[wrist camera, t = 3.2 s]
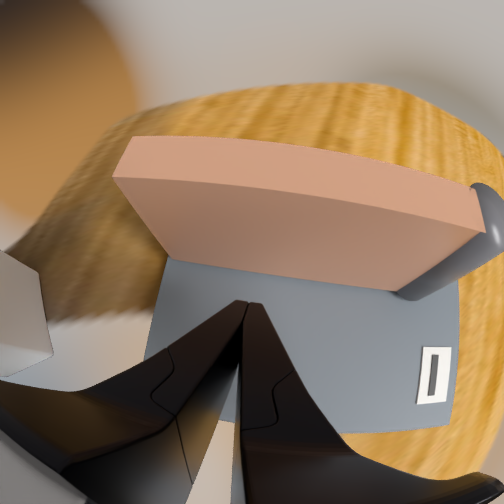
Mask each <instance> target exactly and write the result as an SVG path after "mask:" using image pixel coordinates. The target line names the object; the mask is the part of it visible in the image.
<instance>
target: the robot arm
mask: <svg viewBox="0 0 504 504" xmlns="http://www.w3.org/2000/svg"><path fill="white" fill-rule="evenodd" d="M238 365H239V366H238ZM237 369H238V377H237V394H236V411H235V429H234V430H235V431H234V447H233V448H234V449H233V466H232V486H231V504H488V503H489V502H491V501H493V500H494V499H496V498H497V497H499V496H500V495H501V494H502V493H504V485H503V483H502V482H500V481H499V480H498V479H496V478H494V477H492V476H489V475H486V474H483V473H480V472H473V473H470V474H467V475H464V476H461V477H458V478H455V479H450V480H432V479H426V478H422V477H419V476H415V475H412V474H409V473H406V472H403V471H400V470H397V469H394V468H392V467H389V466H386V465H383V464H381V463H378V462H376V461H373V460H371V459H368V458H366V457H363V456H361V455H359V454H358V453H356V452H355V451H354V450H352V449H351V448H350V447H349V446H348V445H347V444H346V443H345V442H344V440H343V439H342V438H341V437H340V435H339V434H338V433H337V431H336V430H335V429H334V427H333V426H332V425H331V423H330V422H329V421H328V419H327V418H326V417H325V415H324V414H323V413H322V411H321V410H320V409H319V407H318V406H317V404H316V403H315V401H314V400H313V398H312V397H311V396H310V394H309V392H308V391H307V389H306V387H305V386H304V384H303V382H302V380H301V378H300V376H299V374H298V372H297V371H296V369H295V367H294V365H293V363H292V361H291V359H290V357H289V355H288V353H287V351H286V349H285V347H284V345H283V343H282V341H281V339H280V337H279V335H278V333H277V331H276V329H275V327H274V326H273V324H272V322H271V320H270V318H269V316H268V314H267V312H266V310H265V308H264V306H263V304H262V303H256V302H250V303H248V301H243V300H234V301H233V302H231V303H230V304H229V305H227V306H226V307H224V308H223V309H221V310H220V311H218V312H217V313H216V314H214V315H213V316H211V317H210V318H208V319H207V320H205V321H204V322H202V323H201V324H200V325H198V326H197V327H195V328H194V329H192V330H191V331H189V332H188V333H186V334H185V335H183V336H182V337H180V338H179V339H177V340H176V341H174V342H173V343H171V344H170V345H168V346H167V348H164V349H162V350H161V351H159V352H158V353H156V354H154V355H153V356H151V357H149V358H148V359H146V360H145V361H143V362H141V363H139V364H137V365H135V366H133V367H132V368H130V369H128V370H126V371H124V372H122V373H120V374H117V375H115V376H113V377H111V378H109V379H107V380H105V381H103V382H101V383H98V384H96V385H94V386H92V387H89V388H87V389H84V390H80V391H74V392H65V391H57V390H49V389H42V388H36V387H31V386H25V385H20V384H15V383H10V382H6V381H1V380H0V504H185V503H186V501H187V498H188V496H189V494H190V491H191V489H192V485H193V484H194V481H195V479H196V476H197V474H198V471H199V469H200V466H201V464H202V461H203V459H204V456H205V454H206V451H207V449H208V446H209V444H210V441H211V438H212V436H213V433H214V430H215V428H216V425H217V423H218V420H219V418H220V415H221V412H222V410H223V407H224V404H225V402H226V399H227V396H228V394H229V391H230V388H231V386H232V383H233V380H234V377H235V375H236V372H237Z"/></svg>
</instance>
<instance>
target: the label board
mask: <svg viewBox="0 0 504 504" xmlns="http://www.w3.org/2000/svg"><path fill="white" fill-rule="evenodd" d="M234 300H243V301H248V303H250V302H256V303H262V304H263V306H264V308H265V310H266V312H267V314H268V316H269V318H270V320H271V322H272V324H273V326H274V327H275V329H276V331H277V333H278V335H279V337H280V339H281V341H282V343H283V345H284V347H285V349H286V351H287V353H288V355H289V357H290V359H291V361H292V363H293V365H294V367H295V369H296V371H297V372H298V374H299V376H300V378H301V380H302V382H303V384H304V386H305V387H306V389H307V391H308V392H309V394H310V396H311V397H312V398H313V400H314V401H315V403H316V404H317V406H318V407H319V409H320V410H321V411H322V413H323V414H324V415H325V417H326V418H327V419H328V421H329V422H330V423H331V425H332V426H333V427H334V429H335V430H336V431H337V433H381V432H395V431H407V430H416V429H424V428H431V427H438V426H444V425H449V423H450V417H451V412H452V406H453V400H454V393H455V385H456V376H457V365H458V351H459V290H458V280H456V281H454V282H453V283H451V284H449V285H447V286H445V287H443V288H442V289H440V290H438V291H436V292H434V293H432V294H430V295H428V296H426V297H424V298H422V299H420V300H418V301H408V300H405V299H404V298H402V297H401V296H400V295H399V294H398V293H397V292H396V291H389V290H380V289H372V288H365V287H357V286H349V285H341V284H334V283H327V282H319V281H312V280H305V279H298V278H291V277H284V276H277V275H270V274H263V273H256V272H249V271H243V270H236V269H230V268H223V267H217V266H211V265H204V264H198V263H192V262H186V261H179V260H173V259H171V257H170V256H168V259H167V263H166V266H165V270H164V274H163V278H162V281H161V285H160V289H159V293H158V297H157V301H156V305H155V310H154V314H153V318H152V322H151V327H150V331H149V336H148V341H147V346H146V350H145V356H144V361H145V360H146V359H148V358H149V357H151V356H153V355H154V354H156V353H158V352H159V351H161V350H162V349H164V348H167V346H168V345H170V344H171V343H173V342H174V341H176V340H177V339H179V338H180V337H182V336H183V335H185V334H186V333H188V332H189V331H191V330H192V329H194V328H195V327H197V326H198V325H200V324H201V323H202V322H204V321H205V320H207V319H208V318H210V317H211V316H213V315H214V314H216V313H217V312H218V311H220V310H221V309H223V308H224V307H226V306H227V305H229V304H230V303H231V302H233V301H234ZM238 366H239V365H238ZM237 377H238V369H237V372H236V375H235V377H234V380H233V383H232V386H231V388H230V391H229V394H228V396H227V399H226V402H225V404H224V407H223V410H222V412H221V415H220V418H219V420H222V421H227V422H233V423H235V411H236V394H237Z"/></svg>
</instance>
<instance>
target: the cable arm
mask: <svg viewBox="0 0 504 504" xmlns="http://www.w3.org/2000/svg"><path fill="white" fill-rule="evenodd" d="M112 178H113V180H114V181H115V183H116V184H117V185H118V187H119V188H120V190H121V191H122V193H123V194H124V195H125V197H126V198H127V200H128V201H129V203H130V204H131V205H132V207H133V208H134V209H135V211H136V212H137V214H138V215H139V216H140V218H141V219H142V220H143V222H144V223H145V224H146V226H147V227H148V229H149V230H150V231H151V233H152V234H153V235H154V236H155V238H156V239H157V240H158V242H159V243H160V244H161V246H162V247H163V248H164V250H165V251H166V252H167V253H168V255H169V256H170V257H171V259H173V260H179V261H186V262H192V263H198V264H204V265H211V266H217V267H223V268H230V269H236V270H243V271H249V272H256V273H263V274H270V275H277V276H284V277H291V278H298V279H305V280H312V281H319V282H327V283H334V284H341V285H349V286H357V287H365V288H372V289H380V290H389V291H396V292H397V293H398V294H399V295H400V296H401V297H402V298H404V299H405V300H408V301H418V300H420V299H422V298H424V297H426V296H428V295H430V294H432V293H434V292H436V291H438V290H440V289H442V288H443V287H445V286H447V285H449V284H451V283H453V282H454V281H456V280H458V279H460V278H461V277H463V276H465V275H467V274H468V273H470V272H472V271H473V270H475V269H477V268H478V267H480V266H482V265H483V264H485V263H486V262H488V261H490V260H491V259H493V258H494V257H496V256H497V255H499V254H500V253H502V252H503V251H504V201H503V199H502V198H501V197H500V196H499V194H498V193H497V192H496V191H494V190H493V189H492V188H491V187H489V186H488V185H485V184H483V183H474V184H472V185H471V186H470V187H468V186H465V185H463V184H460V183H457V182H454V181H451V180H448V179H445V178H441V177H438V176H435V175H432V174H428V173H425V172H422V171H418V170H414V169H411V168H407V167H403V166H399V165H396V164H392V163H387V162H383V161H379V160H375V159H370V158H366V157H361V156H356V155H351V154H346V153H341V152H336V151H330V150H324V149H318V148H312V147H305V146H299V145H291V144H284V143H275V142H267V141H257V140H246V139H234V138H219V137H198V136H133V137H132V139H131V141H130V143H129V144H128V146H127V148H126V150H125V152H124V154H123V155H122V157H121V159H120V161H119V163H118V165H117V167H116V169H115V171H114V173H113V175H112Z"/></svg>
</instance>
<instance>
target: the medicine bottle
mask: <svg viewBox="0 0 504 504" xmlns="http://www.w3.org/2000/svg"><path fill="white" fill-rule="evenodd" d="M52 356H53V348H52V345H51V341H50V336H49V332H48V327H47V322H46V317H45V312H44V307H43V301H42V295H41V288H40V280H39V274H38V272H36V271H35V270H33V269H31V268H29V267H28V266H26V265H24V264H23V263H21V262H19V261H18V260H16V259H14V258H13V257H11V256H9V255H8V254H6V253H5V252H3V251H1V250H0V376H2V377H8V376H10V375H13V374H15V373H17V372H19V371H22V370H24V369H26V368H28V367H30V366H32V365H35V364H37V363H39V362H41V361H44V360H46V359H48V358H50V357H52Z"/></svg>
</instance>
